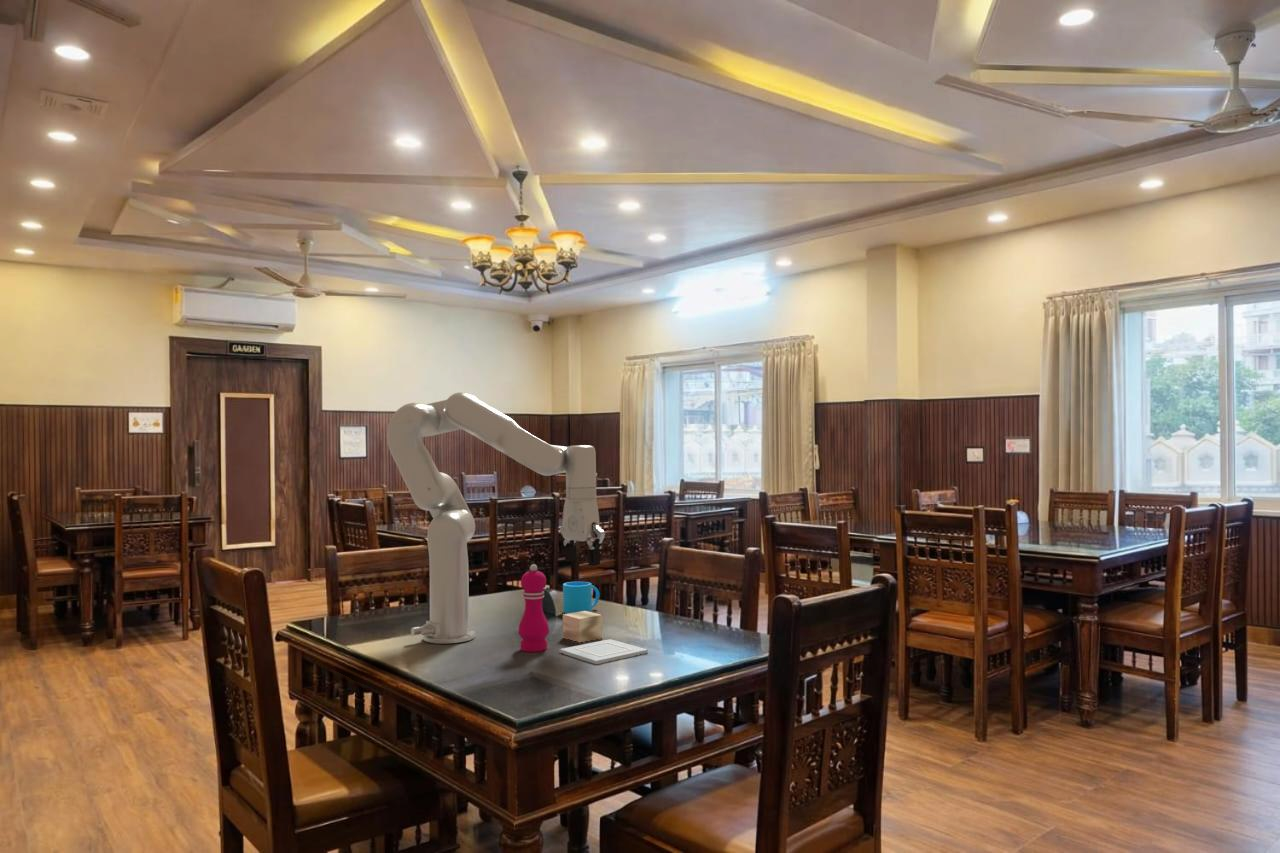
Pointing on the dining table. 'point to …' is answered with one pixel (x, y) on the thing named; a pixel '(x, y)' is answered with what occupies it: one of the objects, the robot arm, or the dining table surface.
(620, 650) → the white flat square
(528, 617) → the pepper mill
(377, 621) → the dining table surface
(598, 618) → the maple block
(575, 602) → the mug
